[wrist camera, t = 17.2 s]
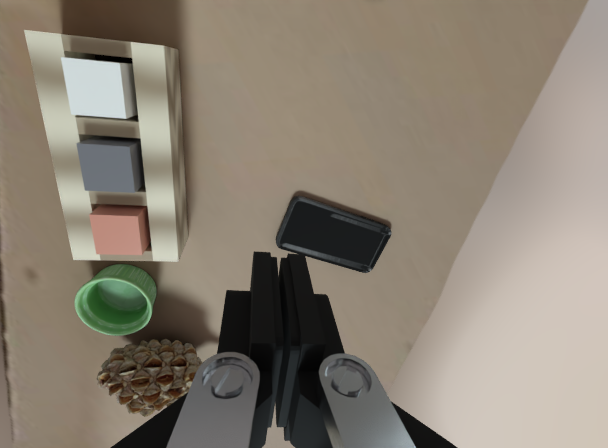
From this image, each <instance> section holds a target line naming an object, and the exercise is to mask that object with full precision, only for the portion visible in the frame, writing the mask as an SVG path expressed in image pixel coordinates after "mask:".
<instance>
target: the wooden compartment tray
mask: <svg viewBox="0 0 608 448" xmlns="http://www.w3.org/2000/svg"><path fill="white" fill-rule="evenodd" d="M24 31H25V36H26V41H27V45H28V50H29V55H30V59H31V64H32V69H33V73H34V78H35V83H36V87H37V92H38V97H39V101H40V106H41V111H42V115H43V120H44V125H45V129H46V134H47V139H48V143H49V148H50V153H51V157H52V162H53V167H54V171H55V176H56V180H57V185H58V190H59V194H60V199H61V204H62V208H63V213H64V218H65V222H66V227H67V232H68V236H69V241H70V246H71V250H72V255H73V260H113V261H177V262H178V261H179V259H180V257H181V254H182V252H183V249H184V247H185V244H186V242H187V240H188V225H187V205H186V186H185V166H184V147H183V127H182V108H181V88H180V69H179V50H178V49H174V48H171V47H167V46H162V45H153V44H145V43H136V42H127V41H118V40H109V39H100V38H91V37H82V36H73V35H64V34H55V33H46V32H38V31H29V30H24ZM95 54H99V55H108V56H118V57H128V58H132V60H133V70H134V80H135V89H136V99H137V109H138V115H135V116H133V117H130V118H127V119H123V118H110V117H97V116H84V115H72V114H71V111H70V105H69V100H68V94H67V89H66V83H65V78H64V72H63V67H62V61H61V57H66V58H79V59H93V60H95ZM96 135H99V136H114V137H128V138H141V148H142V158H143V167H144V177H145V183H144V184H143V185H142V186H141V187H140V188H139V189H138V190H137V191H136V192H135V193H127V192H105V191H85V189H84V183H83V177H82V172H81V166H80V161H79V155H78V150H77V144H76V143H78V142H81V141H83V140H86V139H88V138H91V137H93V136H96ZM101 204H116V205H141V206H148V216H149V226H150V236H151V242H150V243H149V245H148V247H147V248H146V250H145V251H144V253H143V255H107V254H96V250H95V244H94V238H93V233H92V227H91V222H90V216H89V214H90V213H92V212H93V211H94V210H95V209H96V208H98V207H99V206H100V205H101Z"/></svg>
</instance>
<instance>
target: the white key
mask: <svg viewBox="0 0 608 448" xmlns="http://www.w3.org/2000/svg"><path fill="white" fill-rule="evenodd" d="M61 61H62V67H63V72H64V78H65V83H66V89H67V94H68V100H69V105H70V111H71V114H72V115H84V116H97V117H110V118H123V119H127V118H130V117H133V116H135V115H138V109H137V99H136V89H135V80H134V70H133V64H132V63H122V62H112V61H102V60H93V59H79V58H66V57H61Z"/></svg>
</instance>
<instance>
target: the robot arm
mask: <svg viewBox="0 0 608 448" xmlns="http://www.w3.org/2000/svg"><path fill="white" fill-rule="evenodd" d="M275 404H276V424H277V427H284V440H285V441H290V443H291V444H292V445H293V446H294V447H295V448H457V447H456V446H454V445H453V444H452V443H450V442H449V441H447V440H446V439H444V438H443V437H442V436H440V435H438V434H437V433H436V432H434V431H433V430H431V429H430V428H429V427H427V426H426V425H424V424H423V423H421V422H420V421H418V420H417V419H416V418H414V417H413V416H411V415H410V414H408V413H407V412H405V411H404V410H403V409H401V408H400V407H398V406H397V405H395V404H394V403H393V402H391V401H390V399H389V397H388V396H387V394H386V392H385V390H384V388H383V386H382V385H381V383H380V381H379V379H378V377H377V375H376V374H375V372H374V371H373V369H372V368H371V367H370V366H369V365H368V364H367V363H366V362H365V361H363V360H362V359H360V358H358V357H356V356H353V355H349V354H345V353H344V349H343V346H342V342H341V339H340V336H339V332H338V329H337V325H336V322H335V319H334V315H333V312H332V308H331V305H330V302H329V298H328V296H327V295H326V294H314V292H313V288H312V284H311V279H310V275H309V271H308V267H307V262H306V258H305V255H300V254H288V255H287V258H281V262H280V270H279V277H278V267H277V257H271V253H269V252H254V255H253V265H252V276H251V287H250V291H234V290H227V291H226V298H225V304H224V311H223V318H222V325H221V331H220V338H219V345H218V351H217V354H216V355H214V356H212V357H210V358H208V359H207V360H206V361H204V362H203V363H202V364H201V365H200V367H199V368H198V370H197V372H196V374H195V377H194V379H193V382H192V384H191V387H190V389H189V392H187V393H186V394H185V395H183V396H182V397H180V398H179V399H178V400H176V401H175V402H173V403H172V404H171V405H169V406H168V407H167V408H165V409H164V410H162V411H161V412H160V413H158V414H157V415H155V416H154V417H153V418H151V419H150V420H148V421H147V422H146V423H144V424H143V425H141V426H140V427H139V428H137V429H136V430H135V431H133V432H132V433H130V434H129V435H128V436H126V437H125V438H123V439H122V440H121V441H119V442H118V443H116V444H115V445H114V446H112V447H111V448H262V447H263V446H264V444H265V441H266V435H267V428H268V427H271V425H272V419H273V412H274V406H275Z"/></svg>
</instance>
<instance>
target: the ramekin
mask: <svg viewBox="0 0 608 448" xmlns="http://www.w3.org/2000/svg"><path fill="white" fill-rule="evenodd" d="M156 293H157V290H156V285H155V282H154V281H153V279H152V278H151V277H150V275H148V274H147V273H146V272H145V271H143V270H142V269H140V268H138V267H135V266H132V265H127V264H116V265H112V266H109V267H106V268H104V269H103V270H101V271H100V272H99V273H98V274H97V275H96V276H95V277H94V278H92V279H91V280H90V281H89V282H87V283H86V284H84V285H83V286H82V287H81V288H80V289H79V291H78V292H77V294H76V297H75V308H76V312H77V314H78V316H79V317H80V319H81V320H82V321H83V322H84V323H85V324H86V325H87V326H89V327H90V328H92V329H94V330H96V331H98V332H100V333H103V334H107V335H115V336H121V335H128V334H132V333H135V332H137V331H139V330H140V329H142V328H143V327H144V326H145V325H146V324H147V323H148V322H149V320H150V318H151V316H152V311H153V305H154V302H155V298H156Z"/></svg>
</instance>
